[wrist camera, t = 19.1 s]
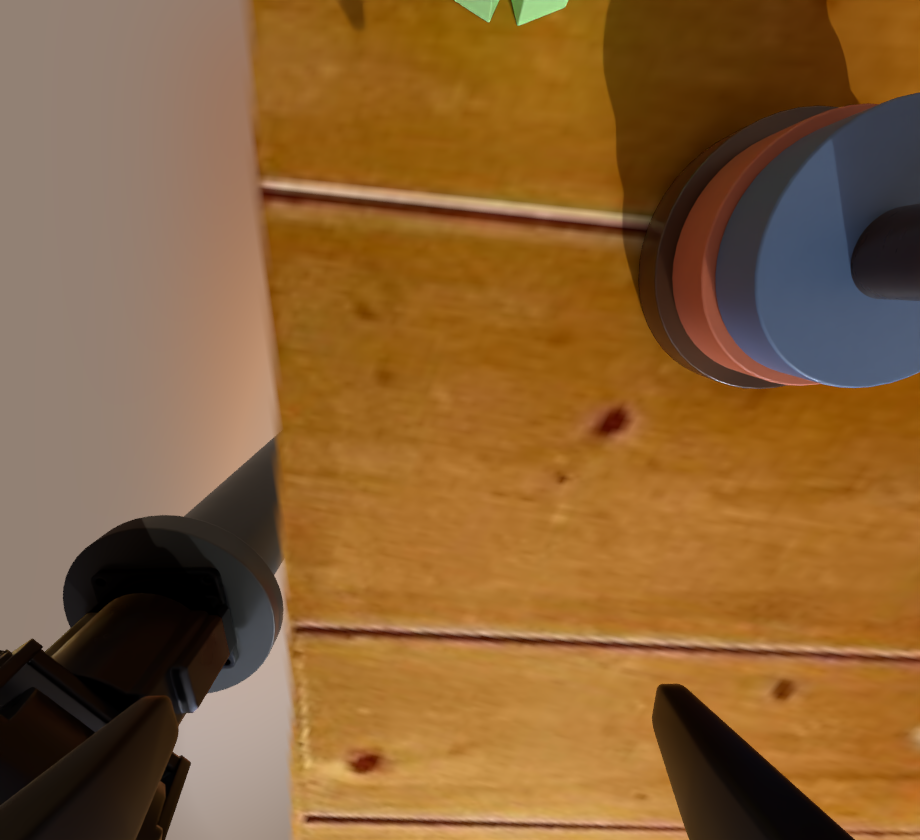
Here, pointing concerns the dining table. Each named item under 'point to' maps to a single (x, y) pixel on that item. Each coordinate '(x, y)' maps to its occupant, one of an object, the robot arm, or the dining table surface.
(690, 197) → the stacking stand
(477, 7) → the green ring
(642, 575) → the dining table surface
